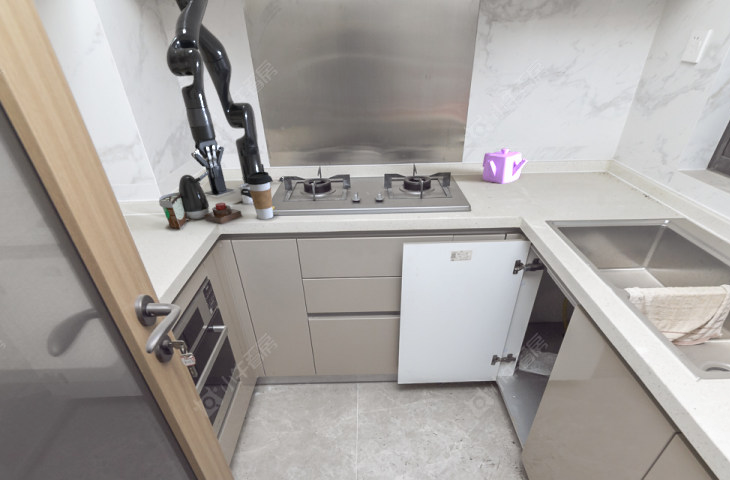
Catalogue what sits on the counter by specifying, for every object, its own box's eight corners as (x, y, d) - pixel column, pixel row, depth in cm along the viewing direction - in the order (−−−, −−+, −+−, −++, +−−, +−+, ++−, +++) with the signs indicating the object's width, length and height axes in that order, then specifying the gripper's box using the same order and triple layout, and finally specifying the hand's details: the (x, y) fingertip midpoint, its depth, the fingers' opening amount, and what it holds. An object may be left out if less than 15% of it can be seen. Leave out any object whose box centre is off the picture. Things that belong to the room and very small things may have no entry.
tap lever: (198, 187, 176) (195, 182, 174) (191, 186, 178) (188, 181, 176) (220, 168, 182) (218, 163, 180) (213, 167, 184) (210, 162, 182)
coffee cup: (280, 214, 162) (273, 171, 153) (269, 221, 156) (261, 177, 147) (261, 212, 164) (253, 170, 155) (249, 219, 158) (240, 176, 149)
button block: (226, 213, 165) (223, 202, 163) (242, 216, 161) (239, 205, 159) (205, 220, 159) (202, 209, 157) (221, 224, 155) (218, 213, 152)
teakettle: (515, 174, 197) (519, 144, 190) (524, 183, 184) (530, 151, 176) (478, 175, 198) (481, 145, 190) (485, 184, 184) (489, 153, 177)
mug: (240, 204, 174) (237, 187, 170) (245, 200, 179) (241, 183, 175) (264, 204, 173) (261, 187, 169) (268, 199, 178) (265, 182, 174)
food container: (173, 220, 161) (164, 192, 155) (189, 219, 161) (181, 191, 155) (162, 231, 151) (152, 202, 145) (179, 230, 151) (170, 201, 145)
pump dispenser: (202, 222, 158) (190, 178, 148) (178, 220, 160) (165, 177, 150) (217, 213, 165) (206, 171, 156) (193, 212, 168) (182, 171, 158)
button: (222, 206, 160) (220, 202, 159) (228, 208, 158) (227, 203, 157) (214, 209, 158) (213, 204, 157) (221, 210, 156) (219, 205, 155)
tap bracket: (217, 198, 183) (209, 165, 175) (205, 195, 187) (196, 164, 179) (234, 192, 190) (227, 161, 182) (222, 190, 193) (215, 159, 185)
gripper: (209, 119, 147) (221, 173, 158) (177, 125, 139) (193, 182, 150) (223, 120, 144) (235, 175, 155) (192, 127, 135) (207, 184, 146)
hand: (214, 178), depth 152 cm, fingers closed
